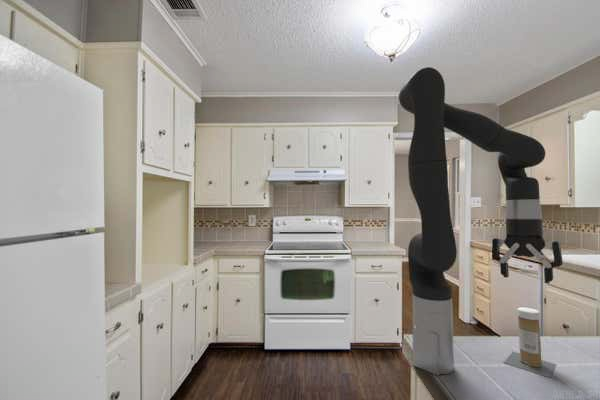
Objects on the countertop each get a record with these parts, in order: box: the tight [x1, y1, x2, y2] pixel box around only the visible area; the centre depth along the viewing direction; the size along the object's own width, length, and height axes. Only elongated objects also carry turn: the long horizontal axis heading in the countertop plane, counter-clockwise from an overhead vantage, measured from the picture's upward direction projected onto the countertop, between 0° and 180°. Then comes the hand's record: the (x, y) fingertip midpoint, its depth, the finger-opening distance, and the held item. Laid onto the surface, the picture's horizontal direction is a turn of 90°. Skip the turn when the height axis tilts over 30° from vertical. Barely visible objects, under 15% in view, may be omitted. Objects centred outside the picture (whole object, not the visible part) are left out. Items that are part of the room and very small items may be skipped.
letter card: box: [503, 351, 557, 379], centre depth 73 cm, size 9×9×1 cm
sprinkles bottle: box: [516, 306, 542, 367], centre depth 73 cm, size 5×5×14 cm
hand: (525, 279), depth 74 cm, fingers open, 8 cm apart
